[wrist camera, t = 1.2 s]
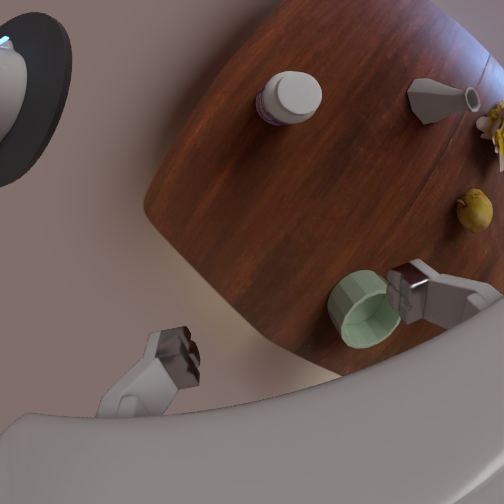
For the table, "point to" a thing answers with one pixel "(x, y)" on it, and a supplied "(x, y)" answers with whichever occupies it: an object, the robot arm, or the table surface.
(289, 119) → the pill bottle
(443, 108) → the flask
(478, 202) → the fruit
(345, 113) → the table surface
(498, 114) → the decorative flower
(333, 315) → the crock
